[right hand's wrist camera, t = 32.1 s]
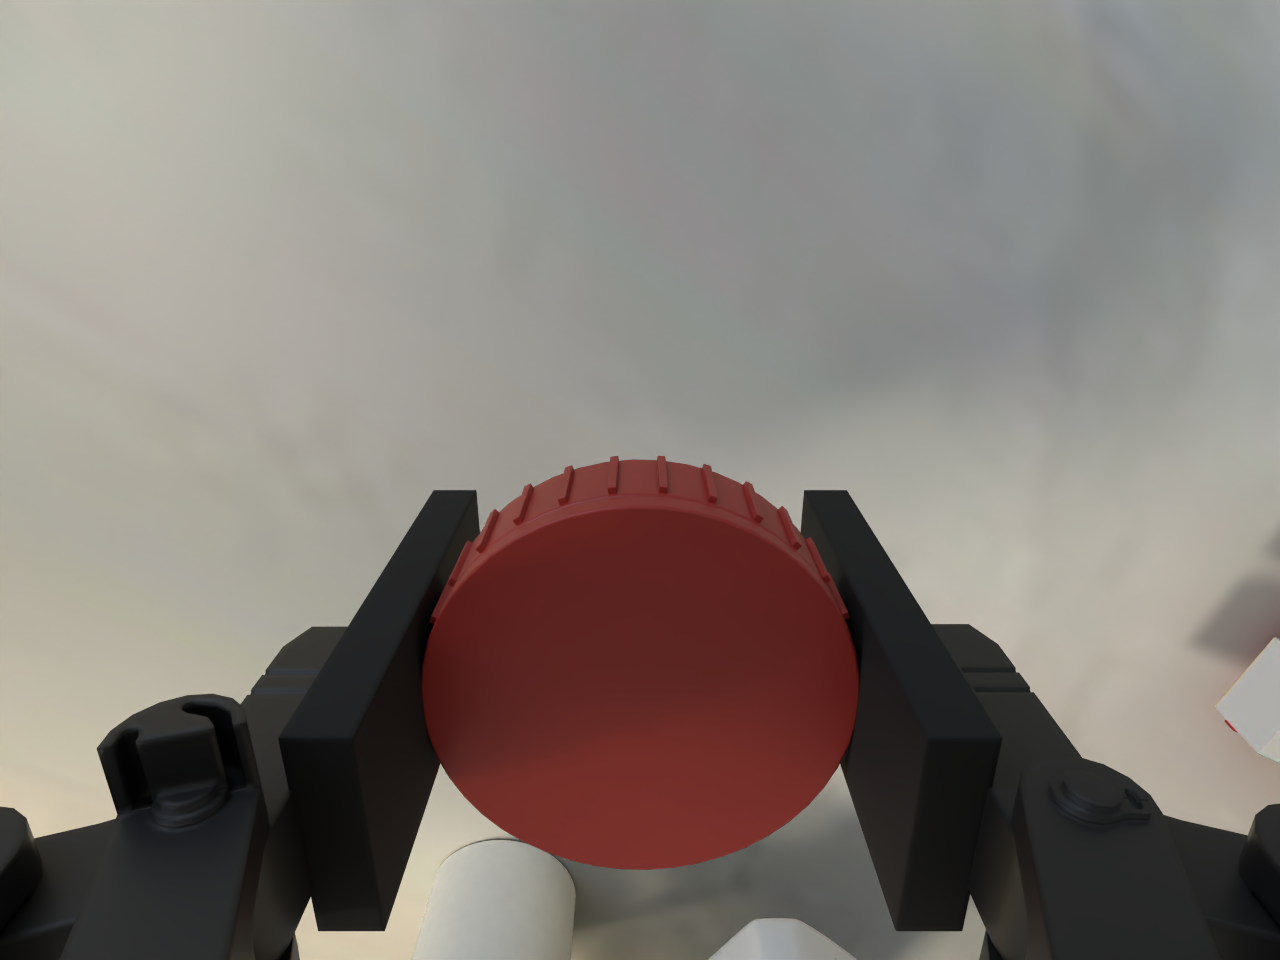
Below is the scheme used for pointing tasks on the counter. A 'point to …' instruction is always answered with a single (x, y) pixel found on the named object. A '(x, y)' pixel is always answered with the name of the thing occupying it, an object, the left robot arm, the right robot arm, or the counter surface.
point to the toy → (1257, 703)
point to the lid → (640, 667)
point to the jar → (498, 906)
